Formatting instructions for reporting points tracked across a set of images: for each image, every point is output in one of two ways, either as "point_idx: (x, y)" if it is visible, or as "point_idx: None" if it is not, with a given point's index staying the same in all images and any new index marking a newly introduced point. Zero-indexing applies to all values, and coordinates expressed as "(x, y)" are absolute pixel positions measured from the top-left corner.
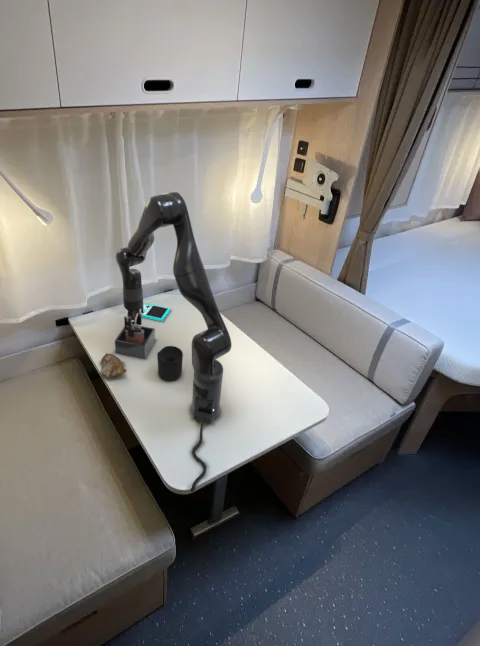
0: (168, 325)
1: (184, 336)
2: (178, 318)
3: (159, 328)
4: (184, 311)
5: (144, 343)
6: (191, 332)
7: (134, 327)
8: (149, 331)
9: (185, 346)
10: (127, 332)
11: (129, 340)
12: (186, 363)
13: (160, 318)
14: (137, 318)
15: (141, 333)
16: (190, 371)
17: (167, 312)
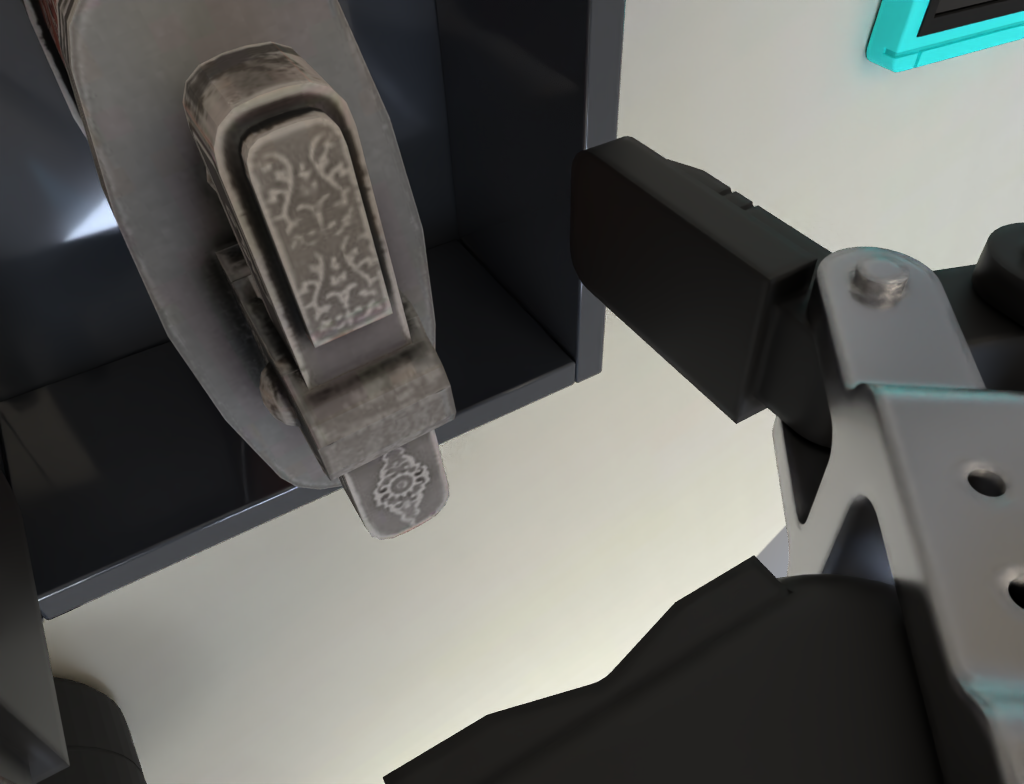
0: (790, 174)
1: (633, 419)
2: (902, 187)
3: (728, 113)
4: (999, 165)
5: (90, 579)
6: (699, 419)
7: (309, 430)
8: (538, 273)
9: (492, 524)
10: (83, 112)
11: (56, 38)
12: (259, 692)
13: (914, 31)
14: (724, 309)
15: (287, 476)
16: (174, 776)
17: (1015, 39)
